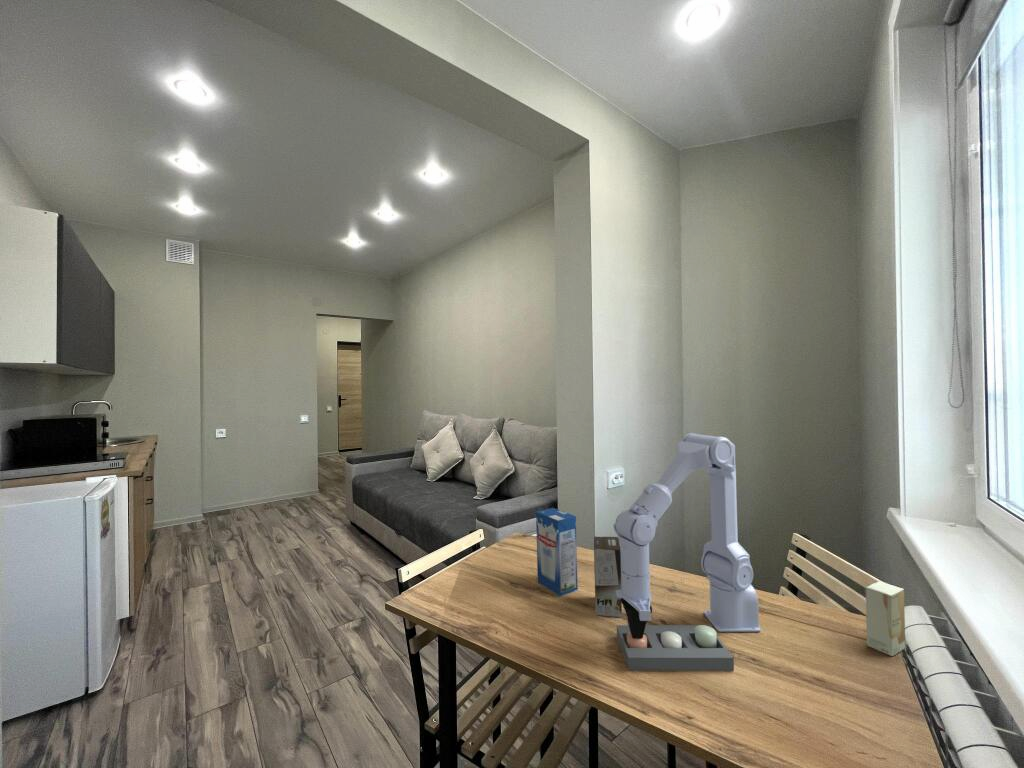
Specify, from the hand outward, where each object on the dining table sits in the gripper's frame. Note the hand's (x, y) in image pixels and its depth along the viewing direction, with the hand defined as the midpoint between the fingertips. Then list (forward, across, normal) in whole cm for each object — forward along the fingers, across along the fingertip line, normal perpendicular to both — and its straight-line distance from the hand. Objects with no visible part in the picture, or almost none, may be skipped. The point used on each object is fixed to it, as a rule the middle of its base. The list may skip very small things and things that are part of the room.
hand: (636, 636), depth 87 cm
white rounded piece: (+3, 0, +7) cm, 8 cm away
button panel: (+3, 0, +7) cm, 8 cm away
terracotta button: (+3, 0, 0) cm, 3 cm away
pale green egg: (+2, 0, +14) cm, 14 cm away
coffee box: (+3, -18, -2) cm, 19 cm away
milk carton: (+3, -29, -14) cm, 33 cm away
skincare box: (+4, -2, +52) cm, 52 cm away
